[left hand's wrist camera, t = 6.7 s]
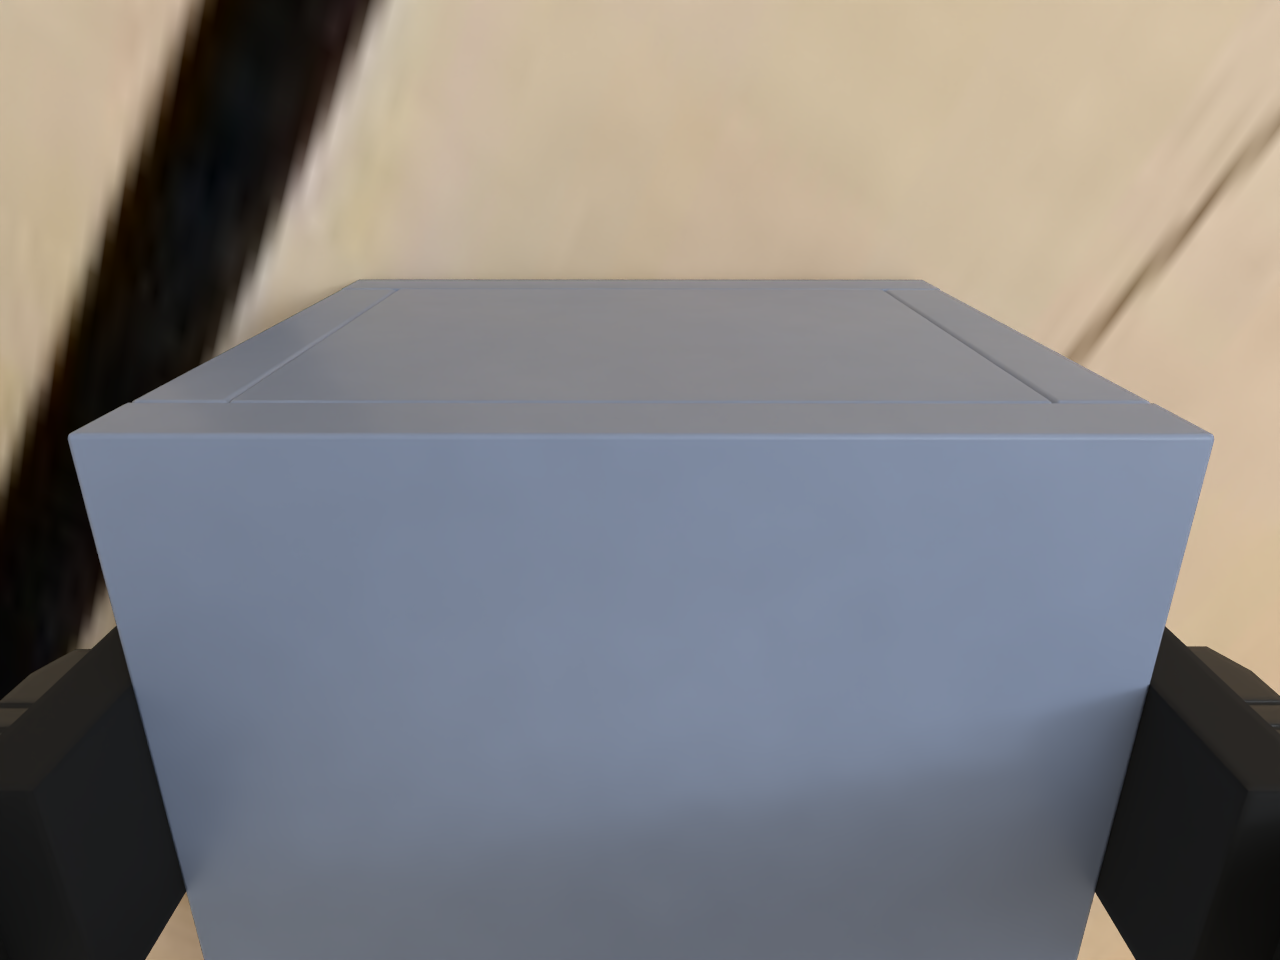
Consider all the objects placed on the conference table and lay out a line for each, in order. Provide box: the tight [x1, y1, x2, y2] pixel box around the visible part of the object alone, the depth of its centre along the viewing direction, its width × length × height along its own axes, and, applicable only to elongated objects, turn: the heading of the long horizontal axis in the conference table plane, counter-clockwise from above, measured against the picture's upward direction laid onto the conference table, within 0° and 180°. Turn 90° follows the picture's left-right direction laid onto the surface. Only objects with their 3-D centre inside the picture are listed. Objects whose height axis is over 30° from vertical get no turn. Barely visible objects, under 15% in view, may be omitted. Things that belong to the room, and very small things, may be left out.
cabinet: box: [68, 280, 1214, 960], centre depth 15 cm, size 22×10×8 cm, turn 0°
